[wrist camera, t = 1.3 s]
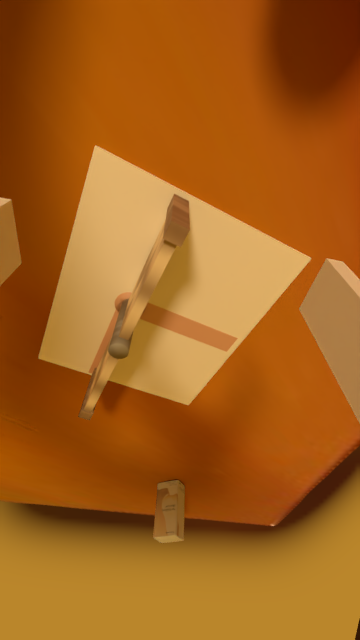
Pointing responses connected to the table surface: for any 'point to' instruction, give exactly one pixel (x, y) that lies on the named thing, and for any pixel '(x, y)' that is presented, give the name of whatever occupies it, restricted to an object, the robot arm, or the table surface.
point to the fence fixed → (106, 366)
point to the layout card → (160, 283)
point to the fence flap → (157, 261)
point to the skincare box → (169, 512)
